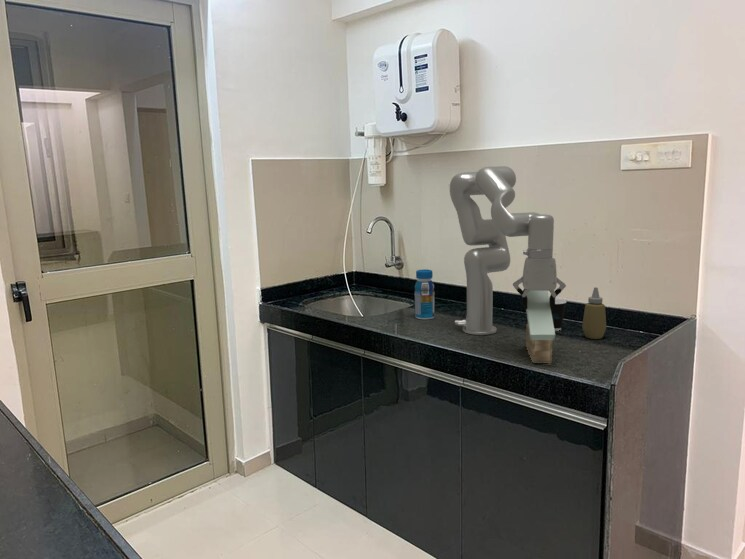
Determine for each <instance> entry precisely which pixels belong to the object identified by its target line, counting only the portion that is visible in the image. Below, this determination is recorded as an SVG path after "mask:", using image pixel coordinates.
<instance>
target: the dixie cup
mask: <svg viewBox="0 0 745 559" xmlns="http://www.w3.org/2000/svg"><path fill="white" fill-rule="evenodd" d="M549 301H550V298H549ZM566 304H567V300H565V299H559V298H555V307H553V310H551V313H552V319H553V325H554V331H555V332H560V331H562V328H563V322H564V316H565V312H566V311H565V308H566ZM559 330H560V331H559Z"/></svg>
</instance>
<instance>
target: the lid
mask: <svg viewBox="0 0 745 559" xmlns="http://www.w3.org/2000/svg"><path fill="white" fill-rule="evenodd" d="M527 298H528V299H527V309H525V312H526V318H527V324H528V327H529V335H530V340H552V341H555V338H556V331H554V325H553V319H552V313H551V308H550V302H549V299H550V296H549V292H548V291H537V290H529V292H528V294H527Z"/></svg>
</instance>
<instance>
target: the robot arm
mask: <svg viewBox="0 0 745 559" xmlns="http://www.w3.org/2000/svg"><path fill="white" fill-rule="evenodd" d="M516 183H517V177H516V173H515V171H514V170H513V169H512V168H511V167H510V166H497V165H496V166H484V167H482V168H479V170H478V171H468V172H461V173H457V174H455V175H454V176H453V177H452V178H451V179H450V184H449V195H450V199H451V202H452V204H453V206H454V208H455V211H456V214H457V215H456V216H457V220H458V223H459V227H460V231H461V236H462V239H463V242H464V243H465V245H467V246H470V247H471V246H474V247H475V246H487V245H488V246H487V247H475V248H472V249H469V250H468V251H467V252H466V253H465V254H464V257H463V263H464V270H465V277H466V317H465V318H463V319H461V320H460V319H455V320H454V326H458V327H462V331H463V332H464V333H465V334H467V335H468V334H469V335H473V336H474V335H476V336H485V335H488V336H489V335H493V334H495V333H497V327H496V326H494V325H493V307H494V306H493V302H494V301H493V295H494V294H493V293H494V292H493V282H492V280H491V278H490V277H489V275H488V274H489V273H500V272H504V271H507V270H508V268H509V267H510V266H511V265H510V264H511V254H510V250H509V245H508V241H507V237H509V238H515V237H527V249H526V250H522V254H523V255H525V256H527V257H525V259H524V264H523V269H522V276H521V277H520V278H518V279H517V280H516V281H514V282H513V283H512V286H513V288H514V289H515V291H517V292H518V294H520V296H521V307H523V308H524V310H526V309H527V299H528V298H527V294H528V292H529V290H537V291H549V292H550V296H549V299H550V301H549V302H550V308H551V310H553V307H555V299H557V296H558V295H560V294H561V292H562V291H563V290H564V289H565V288H566V287H567V284H566V283H565V282H564V281H562V280H560V279H559V278H558V277H557V264H556V262H557V261H556V258H554V257H553V255H554V254H553V251H554V232H555V231H554V228H555V226H554V224H555V223H554V222H555V220H554V216H553V215H551V214H546V213H545V214H541V213H538V212H535V211H534V212H531V211H530V212H512V213H510V212H509V211H508V210H507V208H508V207H509V206H510V205H511V204H512V203H513V202H514V200H515V197H516V192H515V189H514V187H515V185H516ZM480 195H481V196H483V195H485V197H486V198H487V199H488V201H489V202H490V203H491V207H490V215H491V216H490V218H489V219H488V218H487V219H483V217H482V214H481V209H480V206H479V205H478V204H477V202H476V201H475V200H474V199H473V198H472V197H471V196H480ZM521 284H522V287H523V289H522V288H521V287H520V286H519V285H521ZM557 284H558V285H559V287H557V286H558V285H557Z"/></svg>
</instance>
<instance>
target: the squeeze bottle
mask: <svg viewBox="0 0 745 559" xmlns="http://www.w3.org/2000/svg"><path fill="white" fill-rule="evenodd" d="M587 301H588V302H587V303H586V304H585V305H584V312H583V318H582V323H581V324H582V326H581V327H582V331H583V334H584V336H585V338H588V339H590V340H591V339H594V340H599V339H602V338H604V335H605V333H606V330H607V317H606V305H605V304H604V303H603V297H601V296H600V293H599V288H598V287H593V290H592V294H591V296H589V297H588V300H587Z"/></svg>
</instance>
